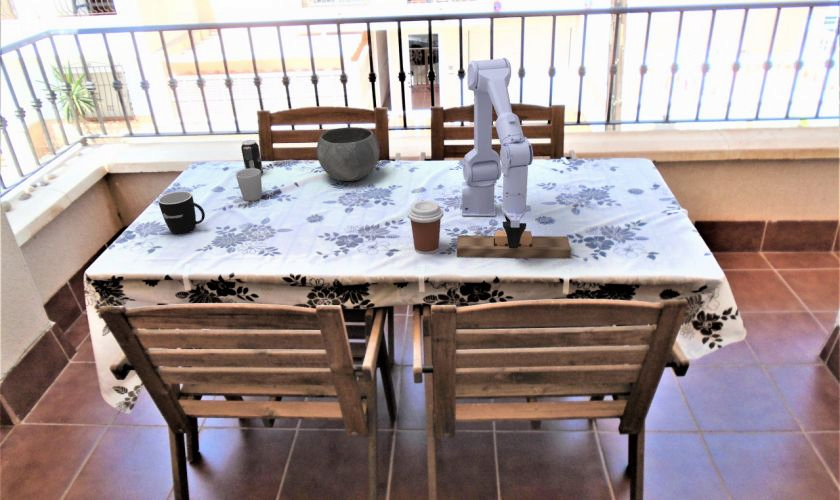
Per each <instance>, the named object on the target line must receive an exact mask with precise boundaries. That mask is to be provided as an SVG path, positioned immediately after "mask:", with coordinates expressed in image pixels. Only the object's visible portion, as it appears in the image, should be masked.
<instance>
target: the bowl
mask: <svg viewBox="0 0 840 500" xmlns="http://www.w3.org/2000/svg"><path fill="white" fill-rule="evenodd" d="M380 152H381V151H380V145H379V141H378V139H377V137H376V135H375V133H374V132H373V131H372V130H370V129H369V128H365V127H359V126H358V127H356V126H355V127H354V126H352V127H349V126H348V127H339V128H333V129H329V130H326V131H325V132H323V133H322V134H321V135H320V136H319V138H318V140H317V145H316V155H317V156H316V157H317V160H318V162H319V164H320V167H321V168H322V170H323V171H324V172H325V173H326V174H327V175H328V176H330V177H331V178H333V179H334V180H338V181H342V182H354V181H358V180H361V179H363V178H365V177H367V176H368V175H369V174H370V173H372V172H373V171H374V169H375V168H376V166H377V164H378V161H379V159H380Z"/></svg>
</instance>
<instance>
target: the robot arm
mask: <svg viewBox="0 0 840 500" xmlns="http://www.w3.org/2000/svg"><path fill="white" fill-rule="evenodd" d="M511 77H512V65H511V62H510V60H509V59H508V58H507V57H503V58H496V59H493V58H492V59H483V60H471V61H470V63H469V64H468V66H467V89H468V90H469V91H473V97H474V99H473V112H474V113H473V117H474V118H473V124H474V125H473V141H474V142H473V149H471V150H470V151H469V152H467V153H466V154H465V155H464V158H463V164H462V175H463V179H464V181H462V184H461V194H462V195H461V200H460V202H461V203H460V204H461V205H460V206H461V210H462V211H461V216H462V217H496V216H497V215H496V204H495V186H496V185H495V184H497V180H498V181H499V179H500V178H501V176H502V174H503V176H502V177H503V179H502V205H501V212H502V213H503V216H504V218H505V221H502V227H503V231H505V232H506V234H507V239H508V245H509V248H516V249H517V248H518V246H519V243H520V239H521V236H522V233H523V232H524V231H526V228H527V222H524V223H523V222H521V219H522V218H523V217H524V216H525V214H526V213H528V212H531V211H532V208H531V205H527V193H528V176H529V175H528V174H529V166H531V165H532V163H533V161H534V151H533V145H532V144H531V141H529V140H528V137H527V136H524V131H523V129H522V125H521V122H520V118H519V116H518V115H517V114H515V113H513V111H512V105H511V104H512V103H511V99H510V93H509V88H508V87H509V85H510V81H511ZM493 107H494V108H493ZM493 109H494V110H495V114H496V116H497V119H496V121H495V124H494V126H495V129H496V132H497V136H498V140H499V144H500V147H501V148H500V151H499V153H498V152H497V151H496V150H494V149H493V146H492V145H493V143H492V141H493Z"/></svg>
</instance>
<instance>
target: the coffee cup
mask: <svg viewBox="0 0 840 500" xmlns="http://www.w3.org/2000/svg"><path fill="white" fill-rule="evenodd" d="M443 217H444V210H443V209H442V207H440V205H439V203H437V202H435V201H433V200H419V201H416V202H414V203H413V204H412V205H411V206H410V208H409V210H407V218H408V219H409V220H410V224H411V233H412V238H413V239H412V240H413V247H414V251H415V252H416V253H418V254H422V255H430V254H434V253H437V252H438V251H439V249H440V237H441V236H440V234H441V219H442V218H443Z"/></svg>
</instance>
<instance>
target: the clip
mask: <svg viewBox="0 0 840 500" xmlns="http://www.w3.org/2000/svg"><path fill="white" fill-rule="evenodd" d="M494 236H495V243H497V246H505V243H508V239H507V234H506V232H505V230H494ZM532 236H533V235H532V231H531V230H524V232H523V233H522V236H521V239H520V243H519V244H520V247H529V244H532Z"/></svg>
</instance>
